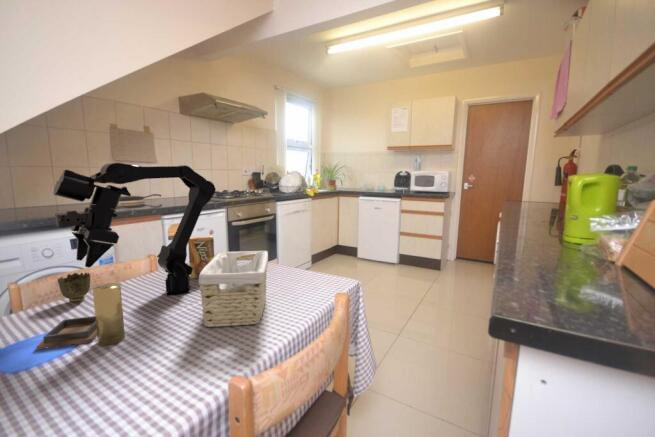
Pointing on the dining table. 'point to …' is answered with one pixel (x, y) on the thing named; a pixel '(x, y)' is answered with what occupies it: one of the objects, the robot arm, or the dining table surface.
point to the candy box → (200, 253)
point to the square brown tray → (71, 332)
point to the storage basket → (234, 288)
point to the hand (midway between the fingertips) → (83, 263)
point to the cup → (75, 286)
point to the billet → (108, 314)
